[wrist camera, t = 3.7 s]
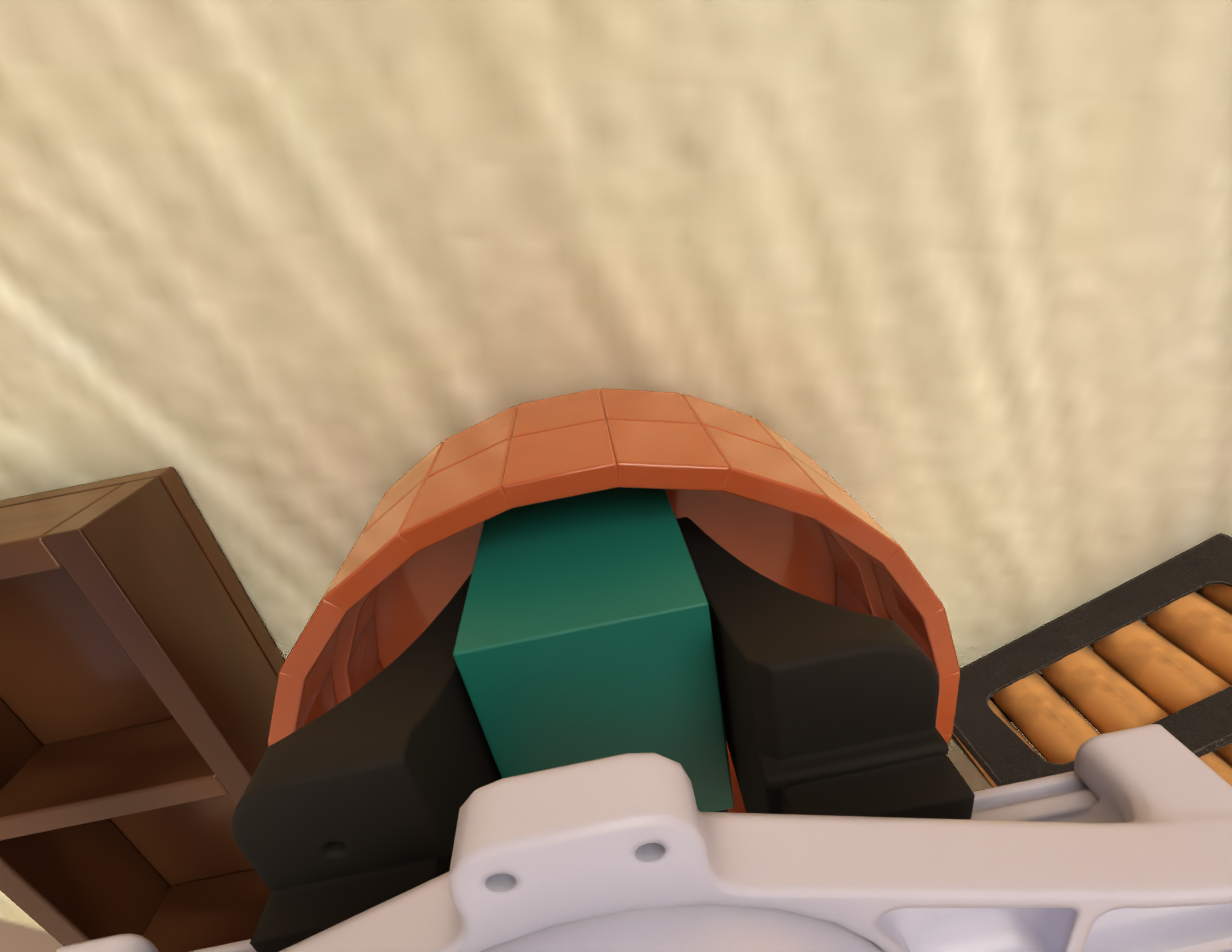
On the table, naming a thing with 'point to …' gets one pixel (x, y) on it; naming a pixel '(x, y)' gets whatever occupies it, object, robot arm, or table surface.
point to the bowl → (589, 462)
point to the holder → (128, 716)
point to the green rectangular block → (593, 640)
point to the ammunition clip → (1110, 674)
